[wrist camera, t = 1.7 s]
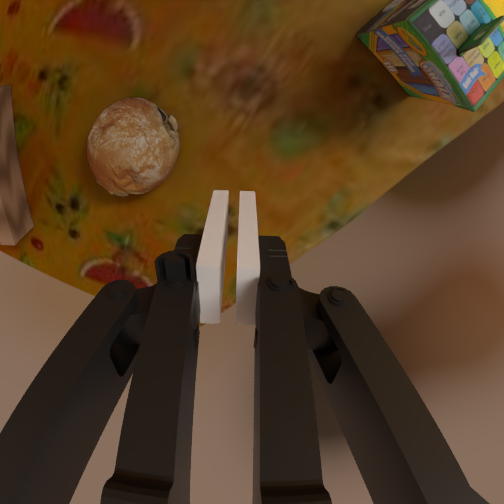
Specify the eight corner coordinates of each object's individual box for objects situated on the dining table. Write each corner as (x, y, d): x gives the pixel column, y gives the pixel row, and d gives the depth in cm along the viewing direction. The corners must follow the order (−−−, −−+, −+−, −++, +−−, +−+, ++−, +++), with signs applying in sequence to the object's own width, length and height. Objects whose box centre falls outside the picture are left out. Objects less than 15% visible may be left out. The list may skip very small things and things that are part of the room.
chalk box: (408, 97, 26) (500, 128, 14) (352, 34, 23) (430, 15, 11) (453, 53, 23) (548, 66, 10) (402, -9, 19) (490, -34, 7)
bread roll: (194, 146, 33) (208, 139, 26) (134, 212, 33) (131, 224, 26) (135, 91, 29) (133, 70, 22) (74, 158, 29) (54, 155, 22)
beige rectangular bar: (-4, 90, 23) (-30, 97, 19) (10, 84, 23) (-16, 91, 19) (19, 226, 34) (1, 244, 30) (33, 226, 34) (15, 245, 30)
